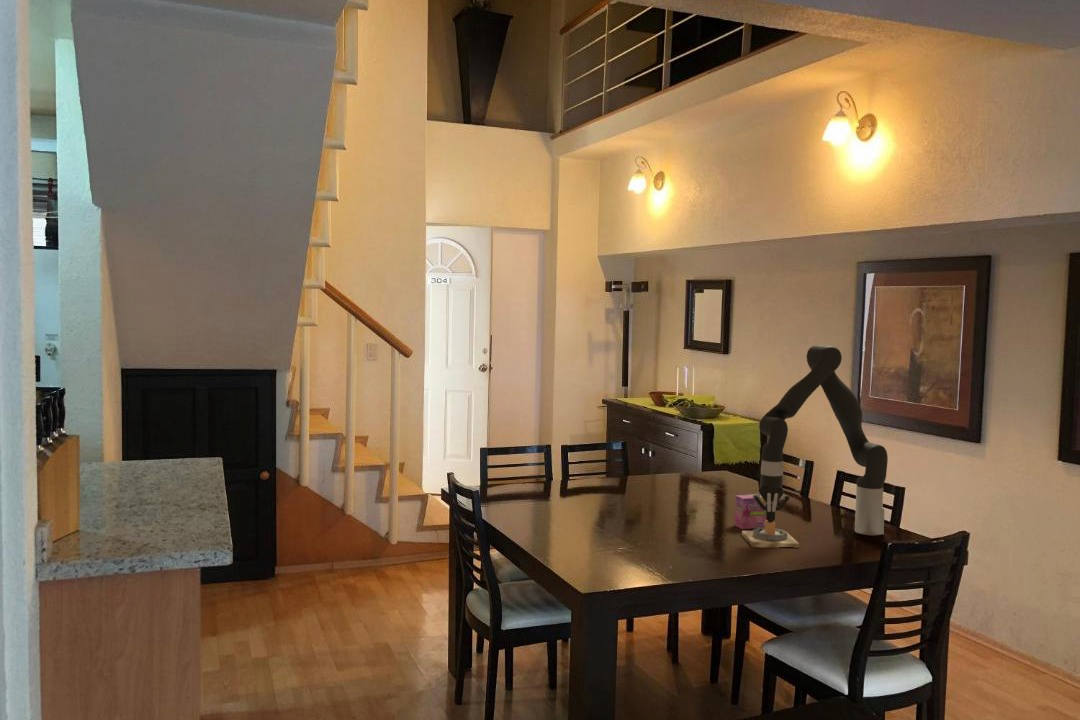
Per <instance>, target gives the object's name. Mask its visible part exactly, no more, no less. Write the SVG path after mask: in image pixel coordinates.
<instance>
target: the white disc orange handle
mask: <svg viewBox="0 0 1080 720" xmlns="http://www.w3.org/2000/svg"><path fill="white" fill-rule="evenodd" d="M775 528H776V522H775V520H774V521H773V522H768V521H767V520H765V530H763V531H760V533H764V534H769V535H779V534H780V533H779V532H777V531H775Z"/></svg>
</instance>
